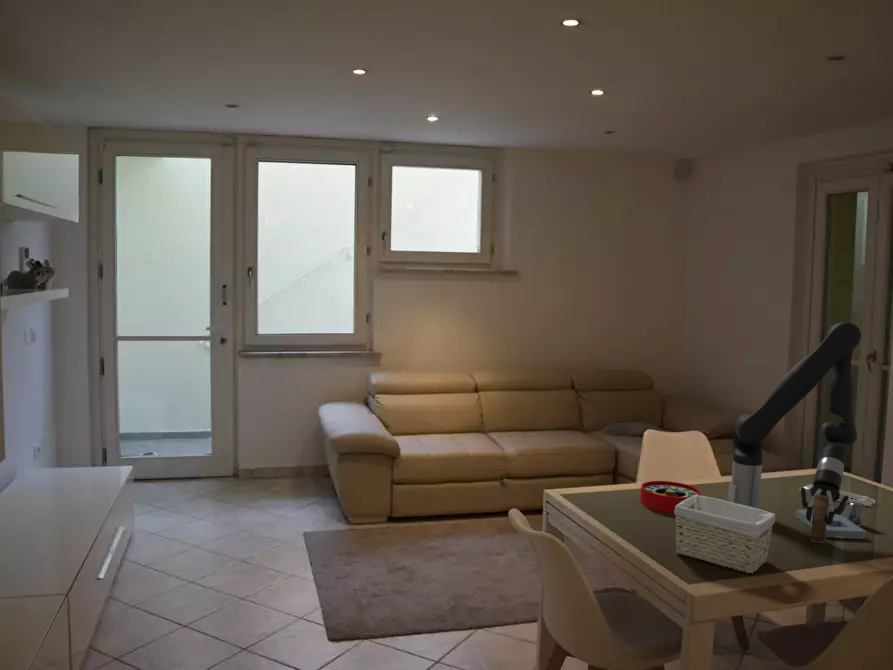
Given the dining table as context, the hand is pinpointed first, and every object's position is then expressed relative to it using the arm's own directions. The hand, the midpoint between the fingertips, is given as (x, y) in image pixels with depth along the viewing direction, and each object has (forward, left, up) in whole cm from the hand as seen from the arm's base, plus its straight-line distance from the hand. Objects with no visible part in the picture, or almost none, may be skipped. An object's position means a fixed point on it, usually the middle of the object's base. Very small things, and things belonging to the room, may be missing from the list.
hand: (818, 521), depth 236 cm
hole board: (+11, +15, -7) cm, 20 cm away
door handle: (+30, +50, -7) cm, 59 cm away
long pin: (+1, +2, -7) cm, 7 cm away
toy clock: (-36, +33, -7) cm, 49 cm away
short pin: (+22, +20, -7) cm, 30 cm away
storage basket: (-35, -16, -7) cm, 39 cm away
